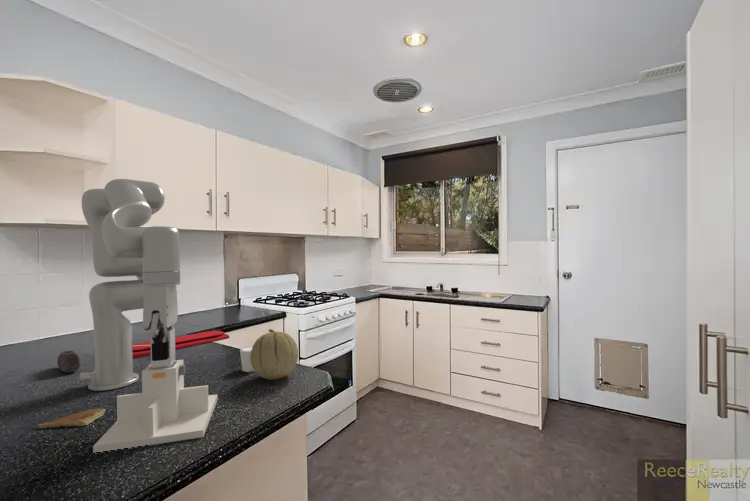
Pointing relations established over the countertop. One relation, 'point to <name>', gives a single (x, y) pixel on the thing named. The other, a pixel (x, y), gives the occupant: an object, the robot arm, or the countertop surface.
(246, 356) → the shot glass
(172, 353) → the steel post
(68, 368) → the perforated stone tool
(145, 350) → the dish drying mat
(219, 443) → the countertop surface
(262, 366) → the cantaloupe
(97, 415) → the shard
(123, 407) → the cream stand
